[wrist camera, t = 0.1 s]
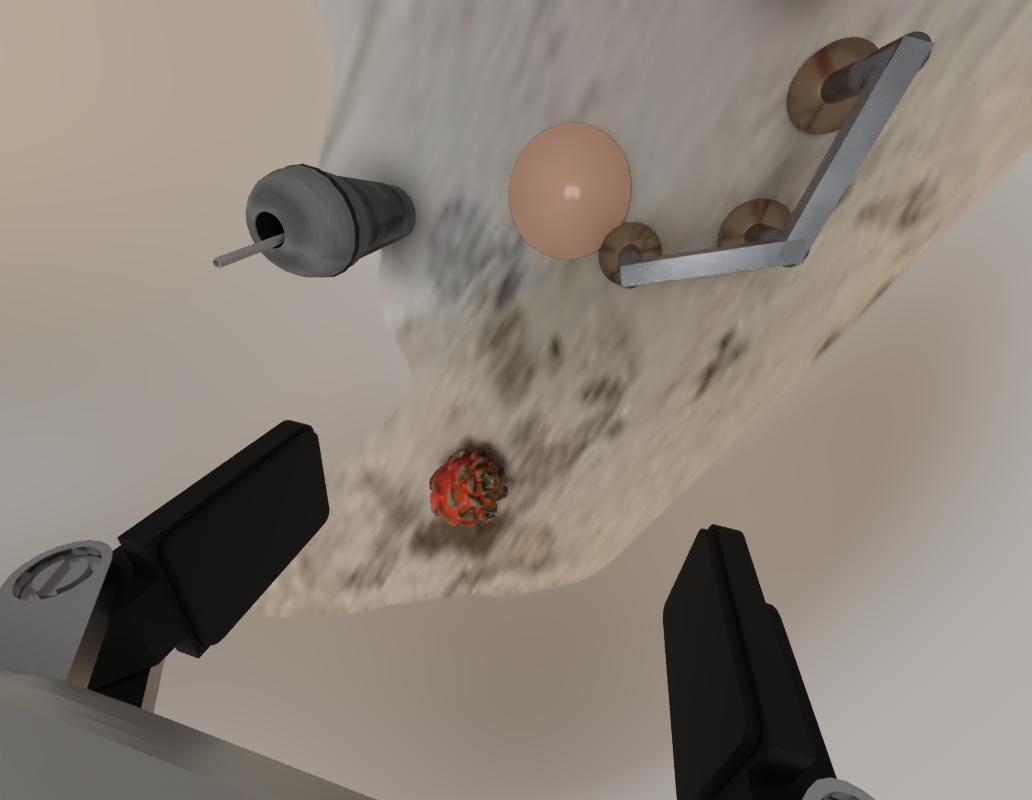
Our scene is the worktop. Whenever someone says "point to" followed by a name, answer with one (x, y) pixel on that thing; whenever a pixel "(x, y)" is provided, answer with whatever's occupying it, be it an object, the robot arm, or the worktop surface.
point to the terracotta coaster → (569, 190)
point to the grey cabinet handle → (769, 224)
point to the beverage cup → (321, 220)
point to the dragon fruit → (467, 488)
